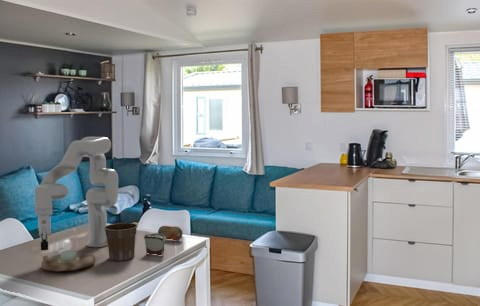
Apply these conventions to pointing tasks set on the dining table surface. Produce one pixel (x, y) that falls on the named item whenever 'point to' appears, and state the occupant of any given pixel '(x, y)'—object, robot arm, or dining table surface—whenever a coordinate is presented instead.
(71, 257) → the sage green rounded cylinder
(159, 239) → the food container
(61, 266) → the disc
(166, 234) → the tin
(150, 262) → the dining table surface
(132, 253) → the plant pot
